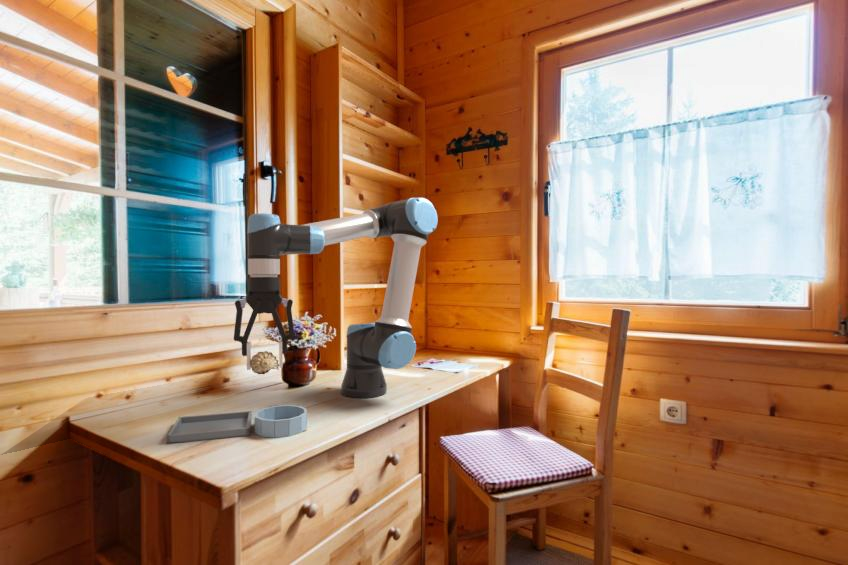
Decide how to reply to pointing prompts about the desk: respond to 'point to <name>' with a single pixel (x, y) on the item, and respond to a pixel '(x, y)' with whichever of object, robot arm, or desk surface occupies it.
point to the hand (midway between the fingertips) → (265, 367)
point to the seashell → (263, 362)
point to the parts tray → (210, 427)
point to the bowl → (280, 421)
